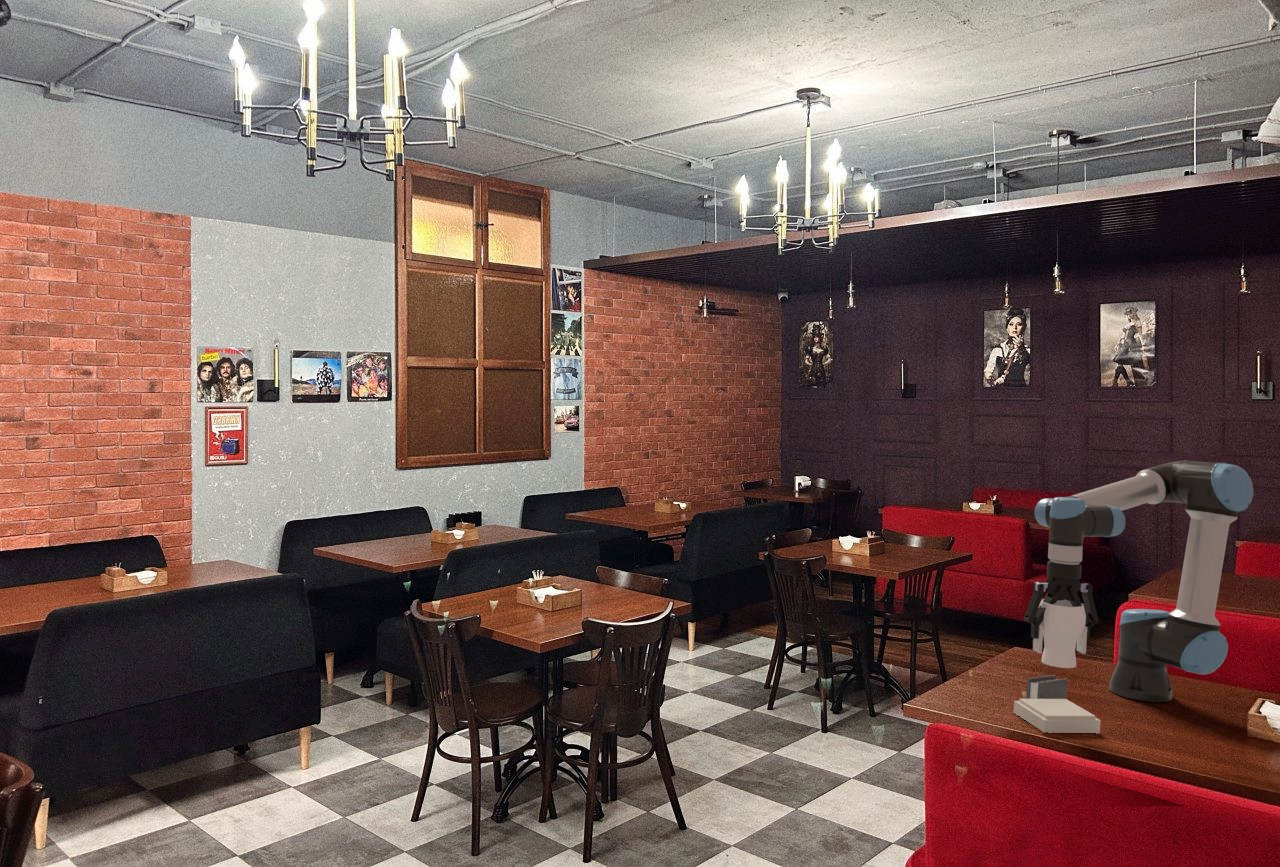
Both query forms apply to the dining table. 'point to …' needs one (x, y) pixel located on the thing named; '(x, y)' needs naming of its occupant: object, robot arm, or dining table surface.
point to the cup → (1061, 632)
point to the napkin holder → (1046, 688)
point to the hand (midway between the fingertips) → (1059, 651)
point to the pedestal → (1057, 716)
